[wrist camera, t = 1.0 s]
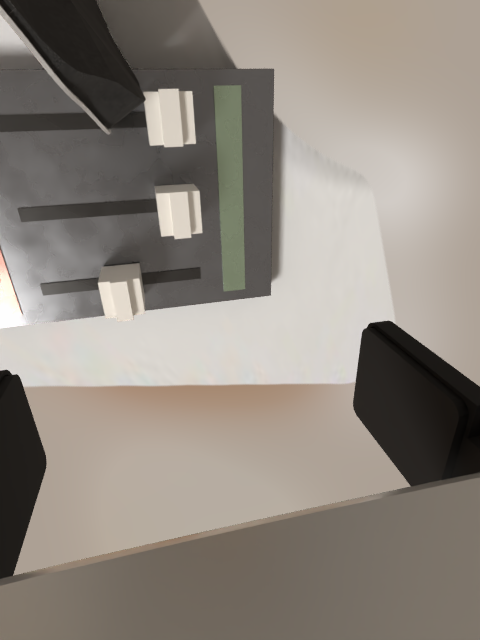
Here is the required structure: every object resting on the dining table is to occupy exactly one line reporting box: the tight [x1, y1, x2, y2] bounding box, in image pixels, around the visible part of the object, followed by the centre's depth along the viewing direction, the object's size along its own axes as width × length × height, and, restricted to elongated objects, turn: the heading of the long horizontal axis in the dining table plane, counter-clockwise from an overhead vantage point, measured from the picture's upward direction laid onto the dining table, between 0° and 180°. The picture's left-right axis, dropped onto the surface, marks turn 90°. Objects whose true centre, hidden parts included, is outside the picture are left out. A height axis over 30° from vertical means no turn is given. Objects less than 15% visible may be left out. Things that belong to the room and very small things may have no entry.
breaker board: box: [0, 69, 274, 328], centre depth 30 cm, size 18×26×2 cm
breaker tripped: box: [98, 263, 145, 322], centre depth 30 cm, size 3×3×4 cm
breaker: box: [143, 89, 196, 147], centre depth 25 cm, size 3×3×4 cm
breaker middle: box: [154, 184, 202, 239], centre depth 28 cm, size 3×3×4 cm
